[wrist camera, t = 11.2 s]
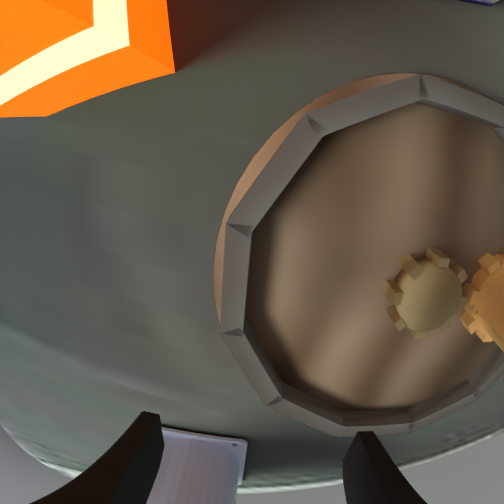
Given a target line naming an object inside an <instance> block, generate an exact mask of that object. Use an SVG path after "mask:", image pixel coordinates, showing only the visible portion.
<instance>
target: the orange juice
mask: <svg viewBox="0 0 504 504" xmlns="http://www.w3.org/2000/svg"><path fill="white" fill-rule="evenodd" d="M171 73H175V69H174V62H173V54H172V46H171V38H170V30H169V21H168V12H167V3H166V0H0V117H21V116H48V115H51V114H53V113H55V112H58V111H60V110H62V109H65V108H67V107H70V106H72V105H75V104H77V103H80V102H82V101H85V100H88V99H90V98H93V97H96V96H99V95H101V94H104V93H107V92H110V91H113V90H116V89H119V88H122V87H125V86H128V85H132V84H135V83H138V82H142V81H145V80H149V79H152V78H156V77H160V76H163V75H167V74H171Z"/></svg>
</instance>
